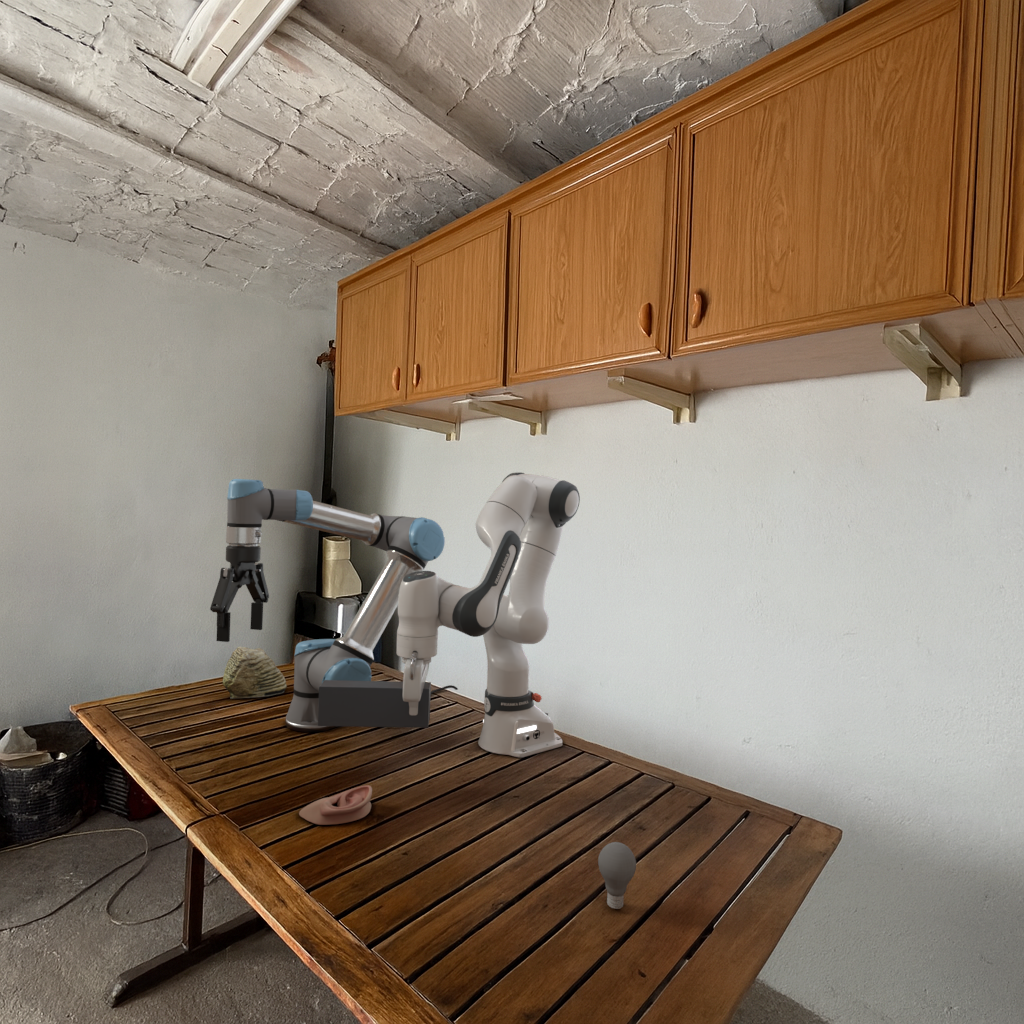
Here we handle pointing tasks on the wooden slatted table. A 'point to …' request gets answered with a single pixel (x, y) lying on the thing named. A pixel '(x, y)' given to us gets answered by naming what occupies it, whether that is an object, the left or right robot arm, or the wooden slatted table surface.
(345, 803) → the anatomical model
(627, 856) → the light bulb
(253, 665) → the fossil
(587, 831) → the wooden slatted table surface
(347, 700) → the bar
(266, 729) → the wooden slatted table surface
